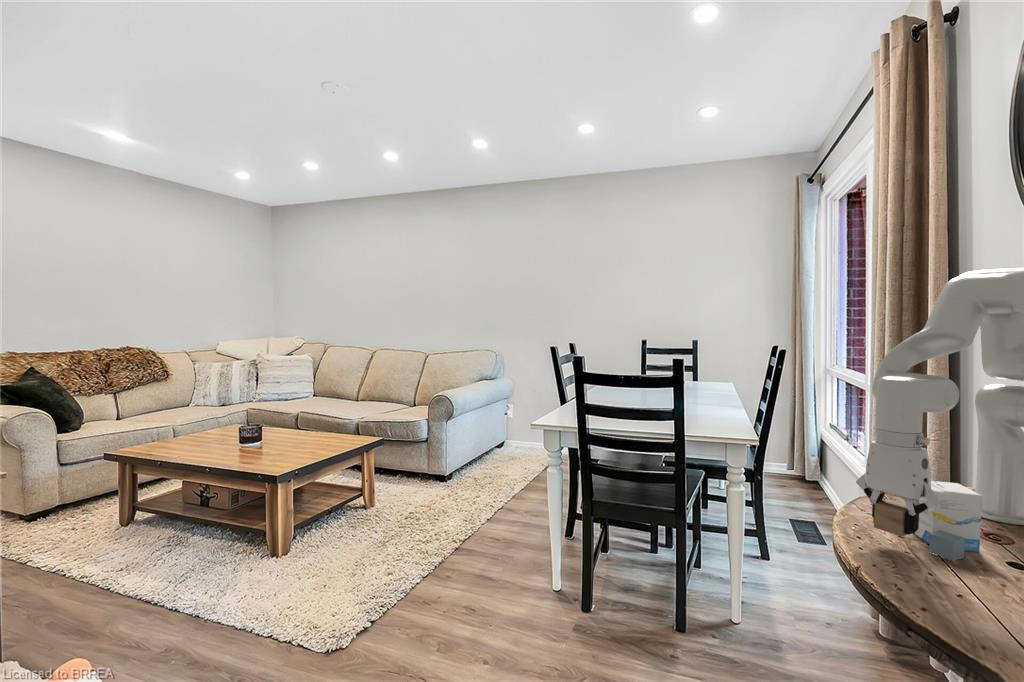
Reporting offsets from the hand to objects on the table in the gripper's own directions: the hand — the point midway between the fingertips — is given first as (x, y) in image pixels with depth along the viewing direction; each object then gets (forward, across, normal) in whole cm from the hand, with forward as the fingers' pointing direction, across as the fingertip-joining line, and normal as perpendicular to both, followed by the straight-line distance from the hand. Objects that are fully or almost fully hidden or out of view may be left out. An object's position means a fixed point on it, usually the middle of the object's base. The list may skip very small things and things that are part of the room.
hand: (894, 526), depth 105 cm
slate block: (+5, -6, -6) cm, 10 cm away
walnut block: (+1, 0, 0) cm, 1 cm away
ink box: (+5, -3, -14) cm, 15 cm away
